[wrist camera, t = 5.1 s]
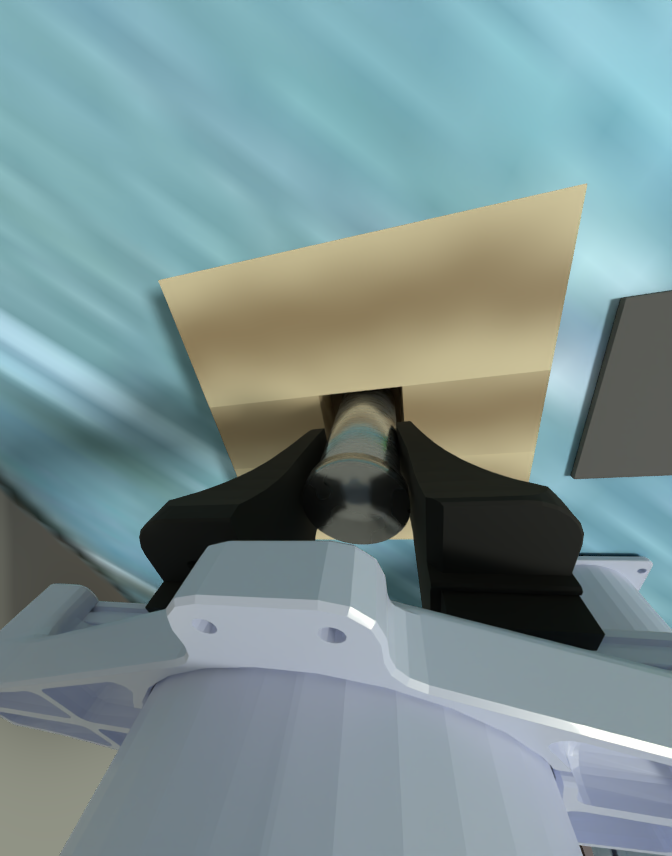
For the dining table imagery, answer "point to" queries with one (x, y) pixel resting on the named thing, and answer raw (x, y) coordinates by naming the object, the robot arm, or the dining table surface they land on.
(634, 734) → the robot arm
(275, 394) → the socket block
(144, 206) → the dining table surface
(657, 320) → the mat
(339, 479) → the pin
